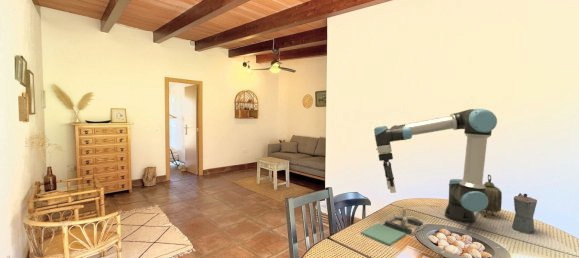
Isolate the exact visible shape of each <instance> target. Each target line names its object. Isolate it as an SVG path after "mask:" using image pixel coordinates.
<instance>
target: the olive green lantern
mask: <svg viewBox="0 0 579 258" xmlns="http://www.w3.org/2000/svg"><path fill="white" fill-rule="evenodd" d="M483 185H484V186H485V187H486V188H485V195H486V196H487V198H488V205H487V207H486V208H485V209H483V210H482V211H485V212H484V213H485V214H483V218H487V217H488V216H487V214H488V213H489V212H490V216H495V213H498V212H501V211H502V203H503V201H502V200H503V198H502V197H503V196H502V195H503V193H502V191H501V189H500V188H499V187H498V186H496V185H495V184H494V182H492V175H491V174H487V181H486V182H485V183H483ZM482 211H481V212H482Z"/></svg>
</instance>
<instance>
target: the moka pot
mask: <svg viewBox="0 0 579 258" xmlns="http://www.w3.org/2000/svg"><path fill="white" fill-rule="evenodd" d="M537 204H538V200H537V199H535V198H533V197H531V196H528V194H527V193H523V194H522V193H518V195H515V196H514V197H513V206H514V213H515V214H514V218H513V222H512V226H511V227H512V228H513V230H515V231H517V232H520V233H523V234H529V235H530V234H531V235H532V234H534V233H535V231H536V230H535V223H534V222H535V221H534V215H535V211H536V206H537Z"/></svg>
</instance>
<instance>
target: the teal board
mask: <svg viewBox="0 0 579 258" xmlns="http://www.w3.org/2000/svg"><path fill="white" fill-rule="evenodd" d="M362 234H363V235H362ZM360 235H362V236H364V235H365V237H367V238H369V239H372V240H373V241H376V242H379V243H381V244H383V245H385V246H387V247H390V246H392V245H394V244H395V243H397V242H398V241H399V240H401V239H403V238H405V237H406V236H407V234H406V233H403V232H401V231H398V230H395V229H392V228H390V227H387V226H384V225H383V224H381V223H375V224H374V225H371V226H369V227H367V228H366V229H363V230H361V231H360Z"/></svg>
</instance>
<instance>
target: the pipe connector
mask: <svg viewBox="0 0 579 258" xmlns="http://www.w3.org/2000/svg"><path fill="white" fill-rule="evenodd" d="M393 218H397V219H402V221H401V226H404V227H407V226H406V225H407V224H408V223H407V222H408V220H407V219H411V220H414V219H415V215H414V216H413V215H407V208H406V207H405V208H404V207H403V208H402V212H400V214H394V216H393ZM397 219H396V220H397Z"/></svg>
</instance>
